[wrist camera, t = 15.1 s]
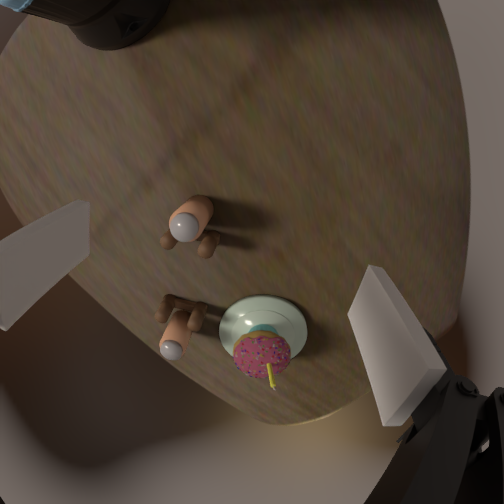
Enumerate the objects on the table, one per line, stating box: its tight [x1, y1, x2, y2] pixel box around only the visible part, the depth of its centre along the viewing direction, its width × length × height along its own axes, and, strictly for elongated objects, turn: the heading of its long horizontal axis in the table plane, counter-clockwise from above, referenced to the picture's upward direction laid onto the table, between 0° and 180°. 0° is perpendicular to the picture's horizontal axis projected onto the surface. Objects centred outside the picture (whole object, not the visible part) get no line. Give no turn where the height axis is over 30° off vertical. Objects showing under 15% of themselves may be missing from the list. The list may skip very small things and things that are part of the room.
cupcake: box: [233, 324, 291, 390], centre depth 40 cm, size 9×8×12 cm
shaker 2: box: [160, 310, 193, 360], centre depth 44 cm, size 4×4×8 cm
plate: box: [219, 294, 307, 359], centre depth 46 cm, size 14×14×1 cm
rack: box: [155, 229, 220, 332], centre depth 41 cm, size 7×14×5 cm, turn 167°
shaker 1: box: [169, 195, 214, 242], centre depth 36 cm, size 4×4×8 cm
